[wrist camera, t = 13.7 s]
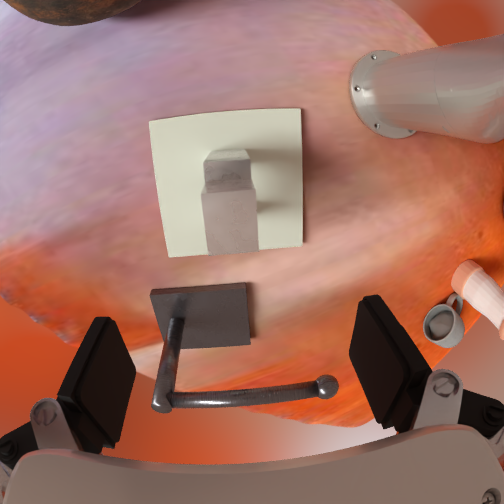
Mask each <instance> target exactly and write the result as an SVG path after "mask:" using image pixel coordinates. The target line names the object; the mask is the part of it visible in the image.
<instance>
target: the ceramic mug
mask: <svg viewBox="0 0 504 504" xmlns="http://www.w3.org/2000/svg"><path fill="white" fill-rule="evenodd" d="M455 299H457V306H456V310H455V311H454V309H453V308H452V304H453V302H454V300H455ZM462 306H463V299H462V298H461V297H460V296H459V295H458V294H456V293H453V294H451V295H450V296H449V298H448V300H447V302H446V304H439V305H436V306H435V307H433V308H432V309H431V310H430V311H429V312H428V313H427V315H426V317H425V319H424V323H423V331H424V334H425V336H426V338H427V339H428V340H429V341H431V342H433V343H435V344H437V345H439V346H441V347H444V348H451V347H454V346H456V345H457V344H458V343H459V342H460V341H461V340H462V338H463V336H464V332H465V326H464V323H463V320H462V319H461V317H460V313H461V310H462Z"/></svg>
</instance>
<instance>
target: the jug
mask: <svg viewBox="0 0 504 504" xmlns="http://www.w3.org/2000/svg"><path fill="white" fill-rule="evenodd" d="M4 1H5V2H6V3H8V4H9V5H10V6H11V7H13V8H14V9H16V10H17V11H19V12H20V13H22V14H24V15H26V16H28V17H29V18H32V19H35V20H37V21H41V22H44V23H48V24H53V25H59V26H74V25H83V24H88V23H92V22H96V21H100V20H103V19H106V18H109V17H112V16H114V15H116V14H119V13H121V12H123V11H125V10H127V9H129V8H130V7H132V6H134V5H135V4H137V3H138V2H140V1H142V0H4Z"/></svg>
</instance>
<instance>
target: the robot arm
mask: <svg viewBox="0 0 504 504" xmlns="http://www.w3.org/2000/svg"><path fill="white" fill-rule="evenodd" d="M371 57H372V58H371ZM354 87H355V88H356V91H355V89H354ZM349 93H350V98H351V102H352V104H353V107H354V109H355V111H356V113H357V115H358V117H359V118H360V119H361V120H362V122H363V123H364V124H365V125H366V126H367V127H368V128H369V129H370V130H372V131H373V132H375V133H377V134H379V135H381V136H384V137H388V138H395V139H400V138H406V137H408V136H411V135H412V134H414V133H415V132H417V131H422V132H428V133H434V134H440V135H445V136H450V137H455V138H459V139H464V140H468V141H473V142H478V143H485V144H490V143H495V142H499V141H501V140H502V139H504V34H502V35H497V36H493V37H489V38H484V39H478V40H473V41H468V42H462V43H456V44H451V45H445V46H440V47H435V48H430V49H425V50H421V51H417V52H412V53H408V54H405V55H400V54H398V53H395V52H392V51H387V50H379V51H374V52H371V53H368V54H366V55H364V56H363V57H362V58H360V59H359V60H358V61H357V63H356V64H355V65H354V67H353V69H352V72H351V74H350V80H349ZM374 125H376V126H374ZM349 356H350V360H351V362H352V364H353V367H354V369H355V371H356V374H357V376H358V378H359V381H360V383H361V385H362V388H363V390H364V392H365V395H366V397H367V400H368V402H369V405H370V407H371V409H372V412H373V414H374V417H375V419H376V421H377V423H379V424H380V423H381V424H382V427H383V429H387V428H390V427H393V426H394V428H395V430H396V431H397V433H396V435H394V436H390V437H387V438H384V439H381V440H377V441H373V442H370V443H366V444H363V445H359V446H354V447H350V448H346V449H342V450H337V451H333V452H328V453H323V454H318V455H312V456H306V457H300V458H294V459H287V460H279V461H269V462H260V463H246V464H222V465H195V464H171V463H158V462H147V461H138V460H131V459H123V458H116V457H110V456H104V455H103V454H102V452H101V451H102V448H103V447H106V448H112V449H114V448H115V443H116V442H119V440H120V436H121V431H122V427H123V422H124V419H125V414H126V410H127V406H128V402H129V398H130V394H131V390H132V387H133V383H134V380H135V375H136V368H135V365H134V363H133V361H132V359H131V357H130V355H129V352H128V350H127V348H126V346H125V343H124V341H123V339H122V336H121V334H120V332H119V329H118V327H117V324H116V322H115V321H114V320H112V319H111V318H110V317H95V319H94V320H93V322H92V324H91V326H90V328H89V330H88V331H87V333H86V335H85V337H84V339H83V341H82V343H81V345H80V347H79V349H78V351H77V353H76V355H75V357H74V359H73V361H72V363H71V365H70V367H69V370H68V372H67V374H66V376H65V378H64V380H63V382H62V385H61V387H60V389H59V392H58V394H57V395H58V397H57V399H56V400H55V399H52V398H44V399H41V400H40V401H38V402H37V403H36V404H35V405H34V406H33V408H32V409H31V413H30V420H31V421H30V422H28V423H26V424H24V425H23V426H21V427H19V428H17V429H15V430H13V431H11V432H10V433H8V434H6V435H4V436H3V437H2V438H1V439H0V504H504V405H503V404H502V403H501V402H500V401H498V400H496V399H493V398H490V397H486V396H483V395H480V394H477V393H474V392H470V391H468V390H465V389H463V383H462V381H461V379H460V378H459V376H458V375H457V374H455V373H454V372H453V371H450V370H446V369H439V370H436V371H434V372H432V370H431V368H430V367H429V365H428V363H427V362H426V360H425V359H424V357H423V356H422V354H421V353H420V351H419V350H418V348H417V347H416V345H415V344H414V342H413V341H412V339H411V338H410V336H409V335H408V333H407V332H406V330H405V329H404V327H403V326H402V325H400V323H399V322H398V321H397V319H396V318H395V316H394V315H393V313H392V312H391V311H390V309H389V308H388V306H387V305H386V304H385V302H384V301H383V300H382V298H381V297H380V296H379V295H371V296H365V297H364V298H363V300H362V301H360V302H359V304H358V310H357V315H356V320H355V325H354V330H353V335H352V340H351V344H350V349H349Z"/></svg>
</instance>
